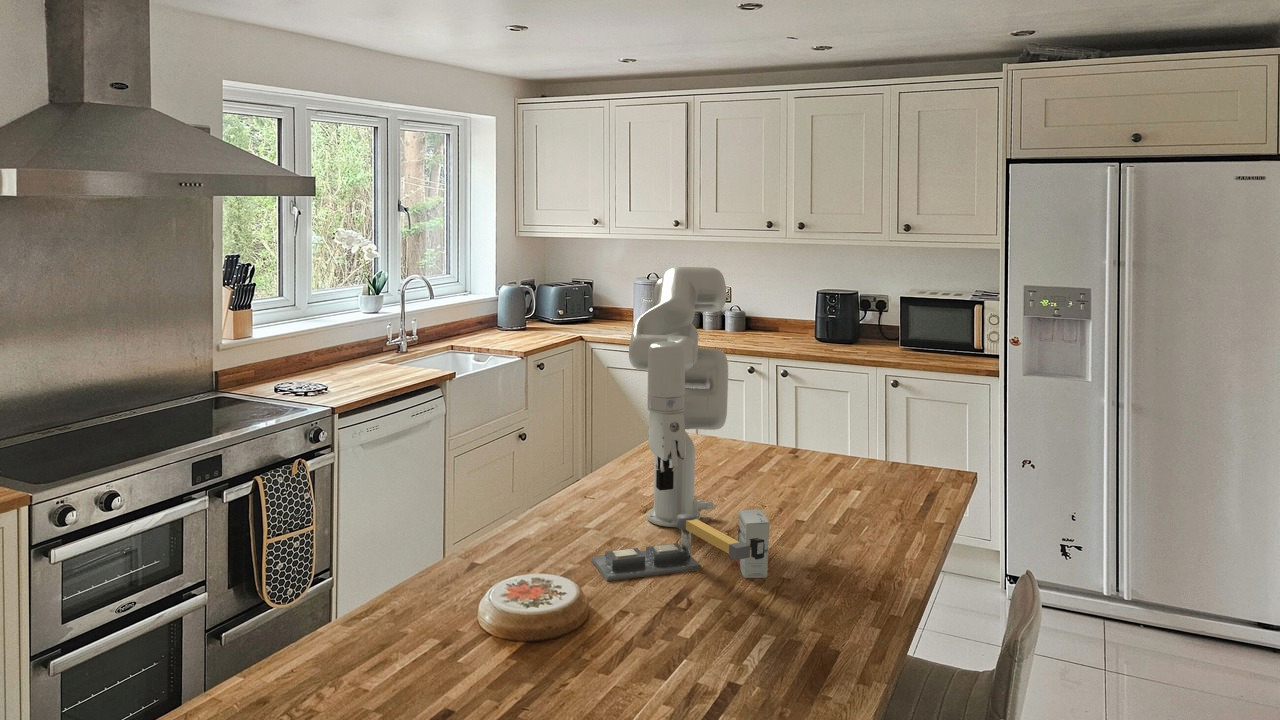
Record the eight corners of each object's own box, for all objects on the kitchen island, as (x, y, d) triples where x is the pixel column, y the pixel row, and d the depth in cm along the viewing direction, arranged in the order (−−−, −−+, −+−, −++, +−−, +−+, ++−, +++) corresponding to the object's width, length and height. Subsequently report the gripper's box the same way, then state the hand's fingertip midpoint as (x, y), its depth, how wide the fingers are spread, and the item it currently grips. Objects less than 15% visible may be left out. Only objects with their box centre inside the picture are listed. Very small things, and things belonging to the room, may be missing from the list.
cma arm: (673, 525, 204) (673, 514, 203) (689, 522, 206) (689, 511, 205) (734, 560, 185) (734, 548, 185) (751, 557, 187) (751, 545, 187)
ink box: (736, 562, 204) (737, 508, 202) (759, 561, 204) (761, 508, 202) (744, 578, 195) (745, 522, 193) (767, 578, 196) (769, 522, 194)
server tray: (680, 550, 210) (681, 519, 209) (700, 569, 200) (701, 536, 198) (591, 561, 203) (591, 529, 202) (607, 581, 193) (607, 547, 192)
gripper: (697, 409, 192) (695, 498, 196) (669, 393, 206) (668, 476, 209) (662, 412, 190) (660, 502, 193) (636, 395, 203) (635, 479, 207)
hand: (664, 488), depth 201 cm, fingers closed
